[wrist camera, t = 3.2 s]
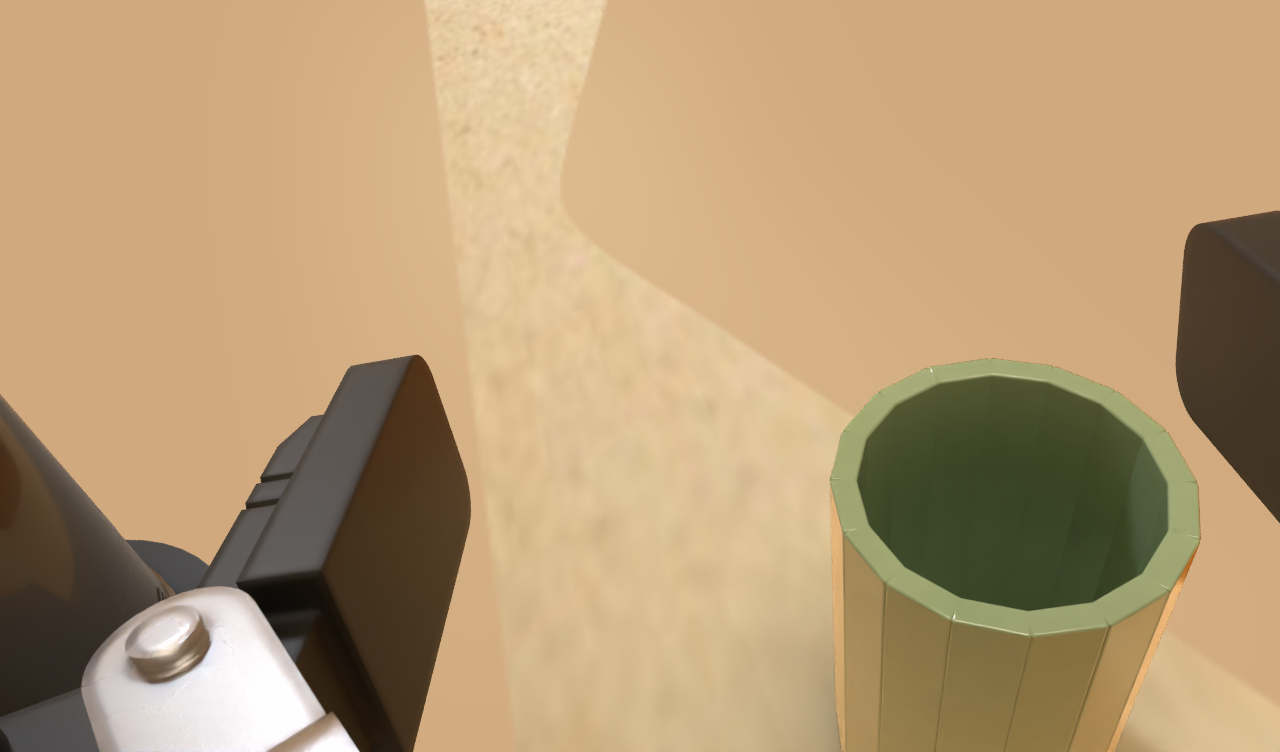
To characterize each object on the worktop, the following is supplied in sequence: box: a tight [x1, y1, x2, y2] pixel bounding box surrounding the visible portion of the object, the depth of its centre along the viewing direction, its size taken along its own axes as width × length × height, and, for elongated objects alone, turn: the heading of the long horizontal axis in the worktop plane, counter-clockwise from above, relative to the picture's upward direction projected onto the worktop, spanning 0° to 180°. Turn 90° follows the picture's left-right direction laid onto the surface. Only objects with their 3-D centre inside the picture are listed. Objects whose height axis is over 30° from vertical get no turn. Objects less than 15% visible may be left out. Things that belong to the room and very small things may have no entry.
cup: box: [830, 358, 1201, 752], centre depth 22 cm, size 6×6×10 cm
